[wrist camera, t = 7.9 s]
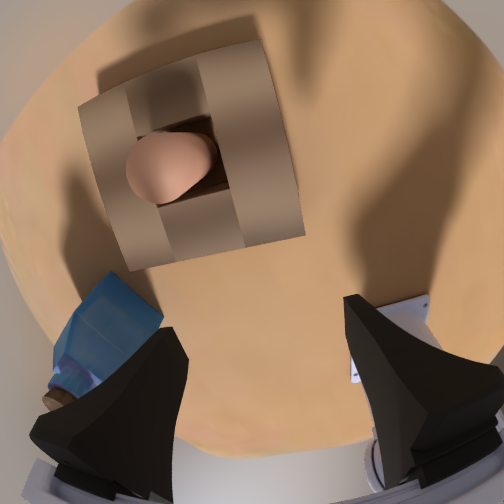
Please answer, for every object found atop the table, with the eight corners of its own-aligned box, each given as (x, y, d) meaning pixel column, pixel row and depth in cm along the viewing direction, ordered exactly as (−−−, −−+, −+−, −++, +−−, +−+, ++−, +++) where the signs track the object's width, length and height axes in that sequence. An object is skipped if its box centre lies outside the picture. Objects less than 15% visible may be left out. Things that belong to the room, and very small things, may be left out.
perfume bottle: (110, 270, 22) (30, 367, 11) (164, 316, 23) (115, 430, 12) (85, 307, 23) (21, 394, 13) (131, 346, 25) (86, 443, 14)
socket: (299, 220, 19) (305, 235, 17) (144, 253, 21) (129, 271, 18) (260, 53, 15) (260, 39, 12) (100, 108, 16) (77, 107, 13)
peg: (223, 170, 18) (201, 191, 12) (179, 184, 19) (139, 212, 12) (209, 126, 17) (179, 122, 10) (165, 141, 17) (117, 149, 11)
